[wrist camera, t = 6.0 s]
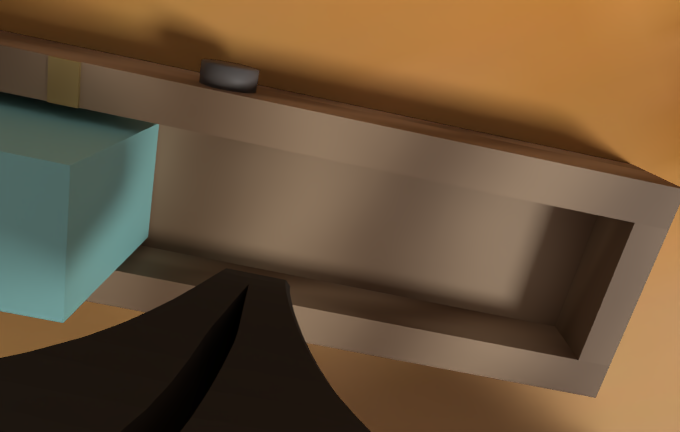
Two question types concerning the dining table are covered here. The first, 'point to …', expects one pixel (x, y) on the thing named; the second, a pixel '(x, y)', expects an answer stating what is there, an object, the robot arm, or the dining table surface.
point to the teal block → (68, 202)
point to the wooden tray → (373, 218)
